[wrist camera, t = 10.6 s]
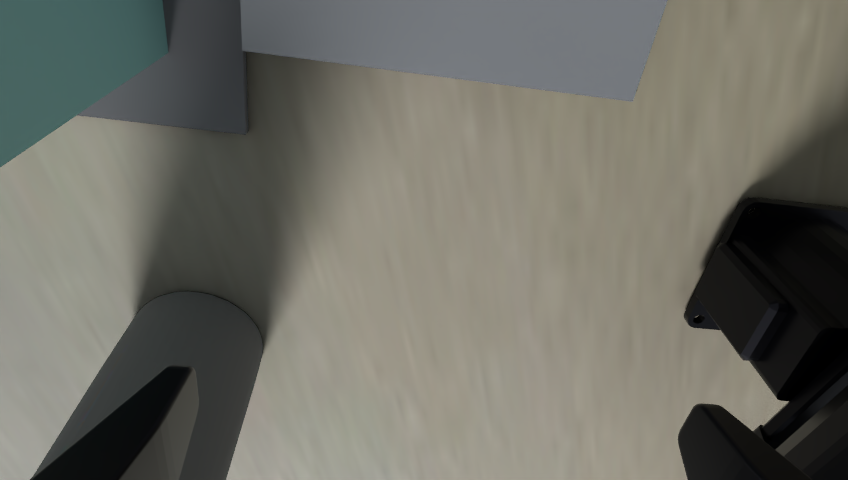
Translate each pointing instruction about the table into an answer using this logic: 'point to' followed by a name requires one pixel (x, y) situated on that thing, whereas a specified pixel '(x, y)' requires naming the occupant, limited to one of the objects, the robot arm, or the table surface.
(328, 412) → the table surface
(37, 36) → the plug
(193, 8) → the pad
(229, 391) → the bottle
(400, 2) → the grey square socket block
